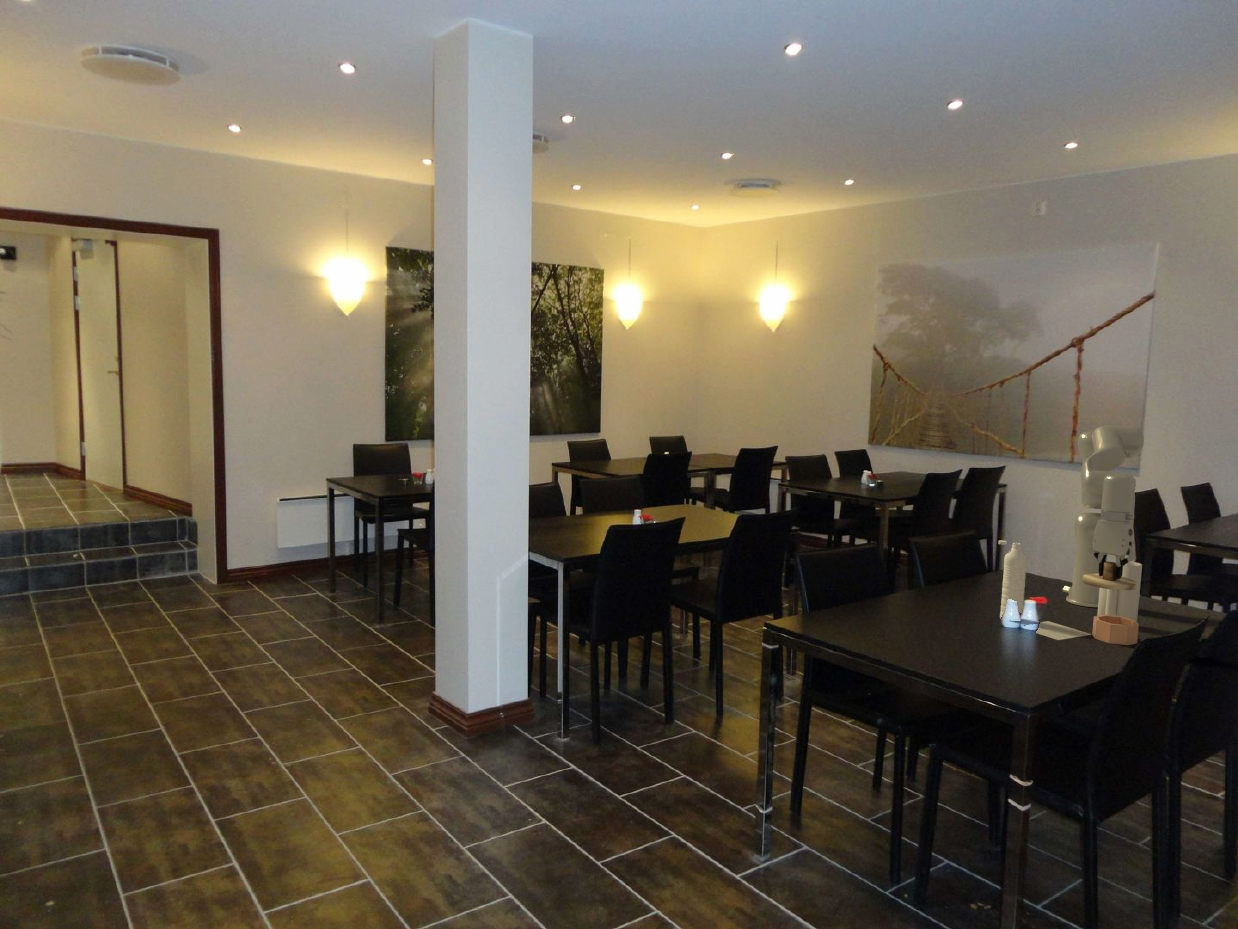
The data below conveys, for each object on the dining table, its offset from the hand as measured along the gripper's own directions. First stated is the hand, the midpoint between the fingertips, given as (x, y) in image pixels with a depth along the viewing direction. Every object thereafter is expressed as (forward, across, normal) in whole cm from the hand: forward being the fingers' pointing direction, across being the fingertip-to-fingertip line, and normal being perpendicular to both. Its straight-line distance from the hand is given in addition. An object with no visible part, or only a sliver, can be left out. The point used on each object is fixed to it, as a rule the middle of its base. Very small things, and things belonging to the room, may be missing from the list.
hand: (1109, 576), depth 258 cm
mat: (+19, +12, +8) cm, 23 cm away
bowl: (+19, -2, -1) cm, 19 cm away
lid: (+2, 0, 0) cm, 2 cm away
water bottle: (+19, +27, +8) cm, 34 cm away
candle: (+19, +7, -19) cm, 28 cm away
